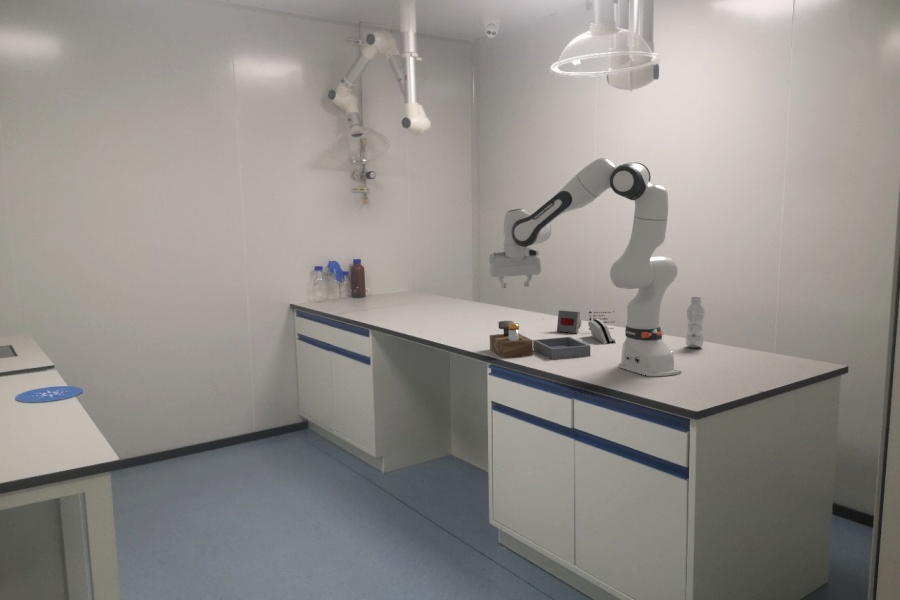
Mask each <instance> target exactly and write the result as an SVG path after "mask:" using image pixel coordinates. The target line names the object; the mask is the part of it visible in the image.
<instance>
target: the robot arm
mask: <svg viewBox="0 0 900 600" xmlns="http://www.w3.org/2000/svg"><path fill="white" fill-rule="evenodd" d="M609 189H611V190H612V191H613V192H614V193H615V194H616V195H618V196H621V197H622V198H625V199H628V200H630V201H634V213H633V221H632V230H631V234H630V239H629V241H628V244H627V246H626V248H625V250H624V252H623V253H622V255H620V257H619V258H618V259H617V260H615V261H614V262H613V263H612V265H611V267H610V270H609V277H610V280H611V283H612V284H613V285H614V286H615V287H616V288H619V289H624V290H625V289H626V290H634V289H635V290H636V289H637V290H638V291H637V293H636V294H635V296H634V297H633V298H632V299H631V300H630V301H629V302H628V303H627V307H626V326H625V329H624V333H625V337H626V338H625V340H624V342H623V343H622V348H621V349H622V350H621V359H620V363H618V366H617V368H619V369H622V368H623V370H625V369H626V370H625V371H629V372H632V373H635V372H636V373H635V374H638V373H639V375H641V374H642V376H645V375H646V376H645V377H665V376H674V375H678V374H681V373H682V369H681V368H680V367H678V366H676V365H675V358H674V351H673V350H671V349H670V348H669V347H668V345H667V344H666V343H665V341H664V339H663V335H664V334H663V333H664V331H662V329H661V326H660V314H661V306H662V305H661V304H662V302H663V299H664V298H663V297H664V296H665V293H666V292H667V290H668V288H669V286H670V285H672V283H674V281H675V280H676V278H677V276H678V266H677V263H676V262H675V260H674V259H673V258H671V257H669V256H663V255H653V254H654V253H655V251H656V250H657V249H658V248H659V247H660V246H661V245H662V244H663V243H665V239H666V233H667V224H668V219H669V218H668V216H669V193H668V191H667V189H666V188H665V187H663V186H662V185H660V184H652V183H651V171H650V170H649V168H648V167H647V166H646V165H645V164H643V163H641V162H630V161H629V162H626V163H623V164H619V165H618V166H616V165H615V164H614V163H613V161H611V160H609V159H607V158H604V157H599V158H596V160H594V161H592V162H590V163H589V164H587V165H586V166H584V168H582V169H581V170H580V171H578V173H577V174H575V175H574V176H573V177H572V178H571V179H570V180H569V181H568V182H567V183H565V185H564V186H563V187H562V188H561V189H559V191H558V192H557V193H556V194H555V195H554V196H553V197H551V198H550V199H549V200H548V201H547V202H544V204H543V205H542V206H541V207H539V208H538V209H537V210H535V211H534V212H533V213H532V214H531V213H529V212H528V211H527V210H526V209H524V208H517V209H516V208H515V209H510V210H507V211H506V212H505V214H504V218H503V236H504V239H503V251H500V252H499V251H498V252H493V253H491V254H490V255H489V272H488V273H489V276H490V277H492V278H497V279H498V281H499V282H500V287H501V289H506V288H507V283H506V282H504V277H518V276H519V277H520V276H526V278H527V279H526V281H524V282H523V287H525V288H527V287H530V282H531V281H532V279H533V276H536V275H540V274H541V272H542V264H541V259H540V257H539V255H540V252H539V250H538V249H534V248H531V247H529V246H532V245H537V244H541V243H544V242H547V240H549V238H550V237H551V235H552V226H551V224H550V223H552V222H553V221H554V220H555V219H556V218H557V217H559V216H561V215H563V214H565V213H567V212H571V211H573V210H578V209H581V208H584V207H586V206H587V205H589V204H591V203H592V202H594V201H595V200H597V198H598V197H600V196H601V195H602V194H603V193H604V192H606V191H607V190H609Z"/></svg>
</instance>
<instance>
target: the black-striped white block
mask: <svg viewBox="0 0 900 600" xmlns="http://www.w3.org/2000/svg"><path fill="white" fill-rule="evenodd" d="M604 322H605V321H603V320H602V319H601V320H600V319H598V318H597V319H595V318H594V320H593V319H591V321H588V327H589V328H590V329H589V331H590V332H591V333H590V334H591V336H592V337H593V336H594V337H593V338H594V339H596V338H597V339H596V340H598V341H599V340H600V341H599V342H600V343H602V342H603V343H602V344H604V343H606V344H608V342H610V343H614V344H616V343H617V342H616V339H615V338H613V337H612V335H611V333H610V329H608V328H609V327H608V326H607V323H604ZM612 341H613V342H612Z"/></svg>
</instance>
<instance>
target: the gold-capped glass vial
mask: <svg viewBox="0 0 900 600" xmlns="http://www.w3.org/2000/svg"><path fill="white" fill-rule="evenodd" d="M519 334H520V323H515V322H513V323H511V324H509V341H519Z"/></svg>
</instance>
